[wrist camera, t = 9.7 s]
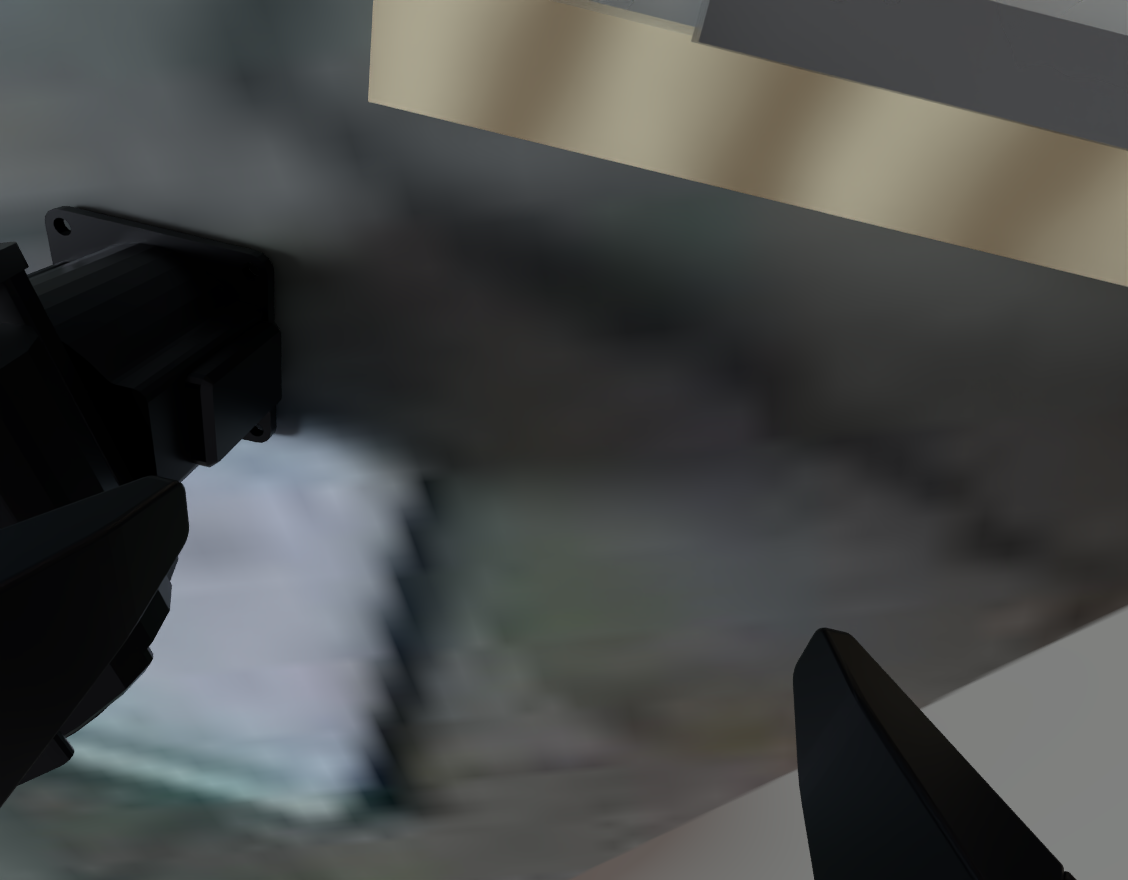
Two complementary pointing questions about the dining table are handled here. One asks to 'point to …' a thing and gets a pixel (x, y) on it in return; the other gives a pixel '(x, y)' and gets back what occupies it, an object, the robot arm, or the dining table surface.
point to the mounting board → (755, 127)
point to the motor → (933, 50)
